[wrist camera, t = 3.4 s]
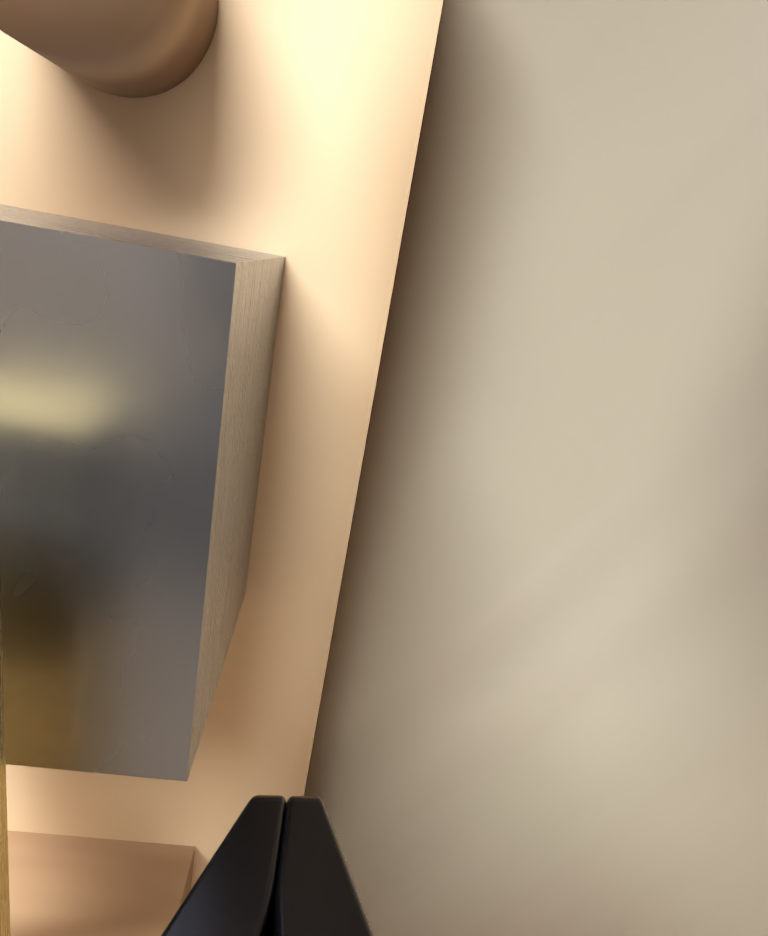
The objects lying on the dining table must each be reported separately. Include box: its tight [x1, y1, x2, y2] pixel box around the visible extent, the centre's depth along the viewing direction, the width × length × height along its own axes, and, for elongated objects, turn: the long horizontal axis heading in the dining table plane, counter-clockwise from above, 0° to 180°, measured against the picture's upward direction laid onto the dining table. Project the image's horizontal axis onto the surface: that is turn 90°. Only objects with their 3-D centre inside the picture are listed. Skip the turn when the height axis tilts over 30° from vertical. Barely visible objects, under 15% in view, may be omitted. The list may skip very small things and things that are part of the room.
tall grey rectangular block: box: [0, 204, 285, 782], centre depth 10 cm, size 6×7×5 cm
